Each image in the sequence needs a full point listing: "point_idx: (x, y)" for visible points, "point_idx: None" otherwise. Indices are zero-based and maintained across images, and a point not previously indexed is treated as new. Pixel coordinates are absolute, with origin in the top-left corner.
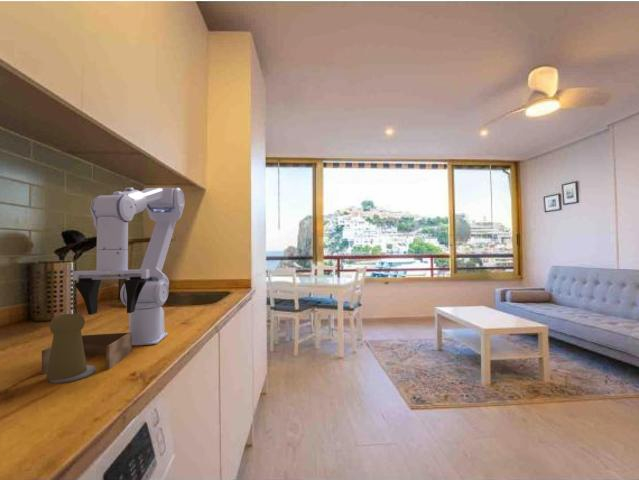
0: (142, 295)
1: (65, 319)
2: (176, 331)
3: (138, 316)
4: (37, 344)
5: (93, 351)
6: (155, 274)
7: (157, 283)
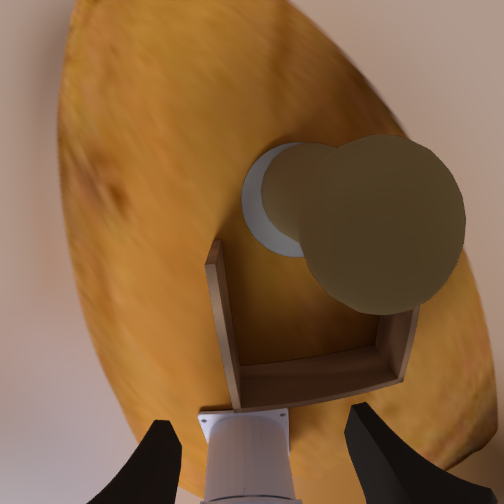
0: None
1: (379, 151)
2: None
3: (248, 476)
4: (462, 391)
5: (335, 359)
6: None
7: None
